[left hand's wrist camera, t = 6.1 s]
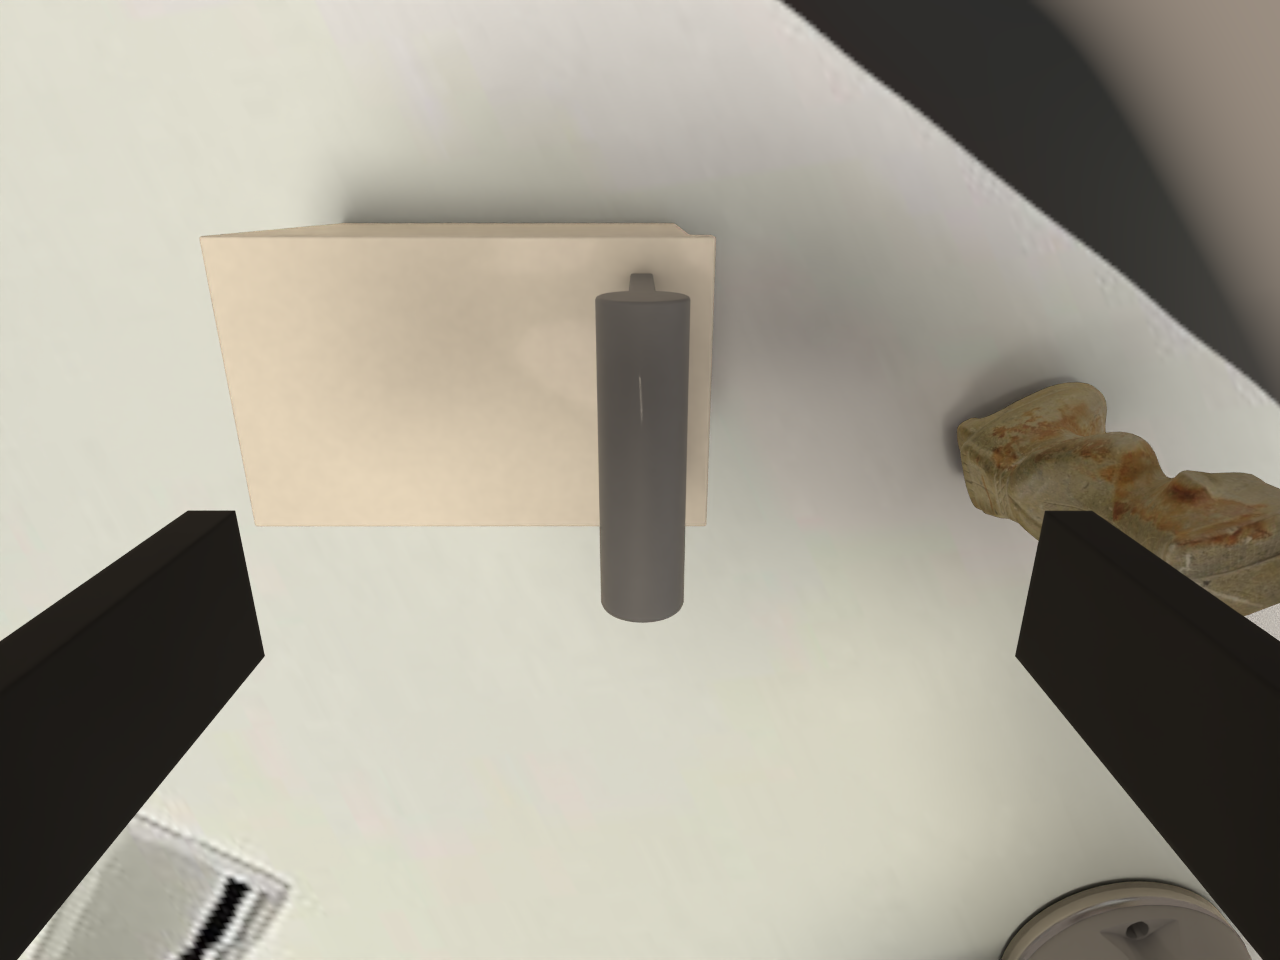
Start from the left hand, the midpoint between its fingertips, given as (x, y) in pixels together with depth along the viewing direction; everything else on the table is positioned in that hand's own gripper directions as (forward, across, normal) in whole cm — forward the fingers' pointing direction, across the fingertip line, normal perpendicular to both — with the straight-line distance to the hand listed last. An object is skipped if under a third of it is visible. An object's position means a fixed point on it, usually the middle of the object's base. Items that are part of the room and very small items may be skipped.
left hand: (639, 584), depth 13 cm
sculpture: (+25, -18, +5) cm, 31 cm away
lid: (+14, +6, 0) cm, 15 cm away
